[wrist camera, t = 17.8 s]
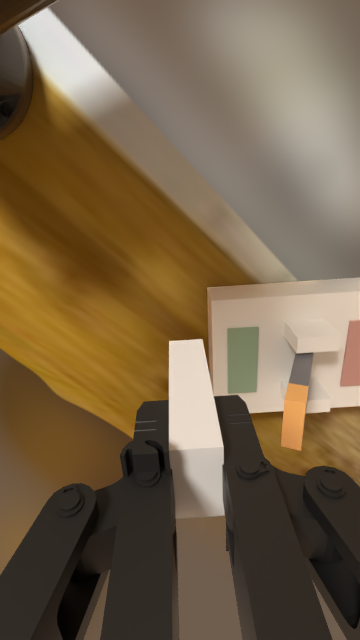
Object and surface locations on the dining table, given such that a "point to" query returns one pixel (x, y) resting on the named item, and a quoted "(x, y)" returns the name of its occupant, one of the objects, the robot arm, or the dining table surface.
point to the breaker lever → (296, 401)
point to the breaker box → (285, 341)
